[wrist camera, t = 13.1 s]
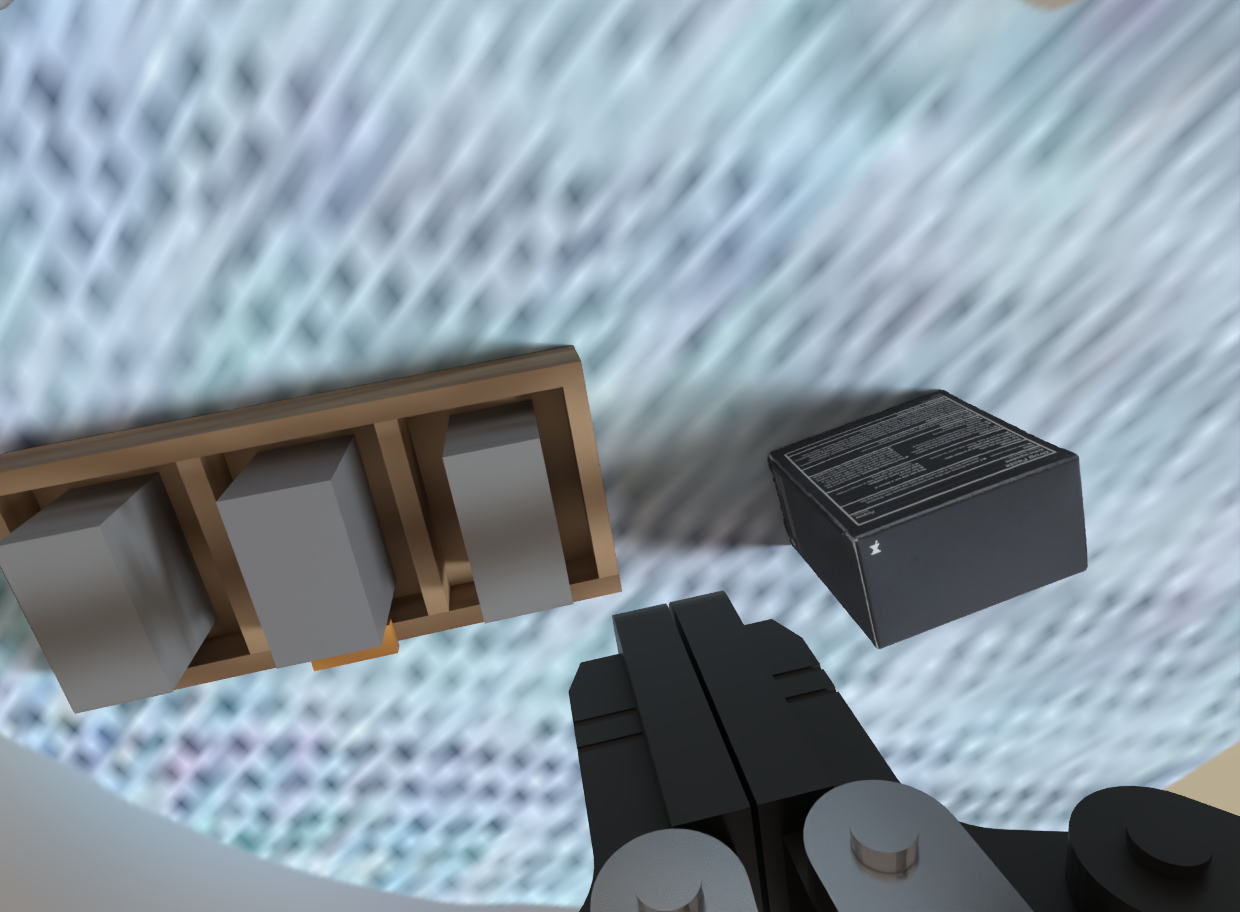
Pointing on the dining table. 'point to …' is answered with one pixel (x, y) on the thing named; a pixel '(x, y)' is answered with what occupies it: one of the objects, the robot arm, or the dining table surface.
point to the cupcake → (4, 3)
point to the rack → (404, 499)
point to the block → (311, 549)
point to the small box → (930, 513)
